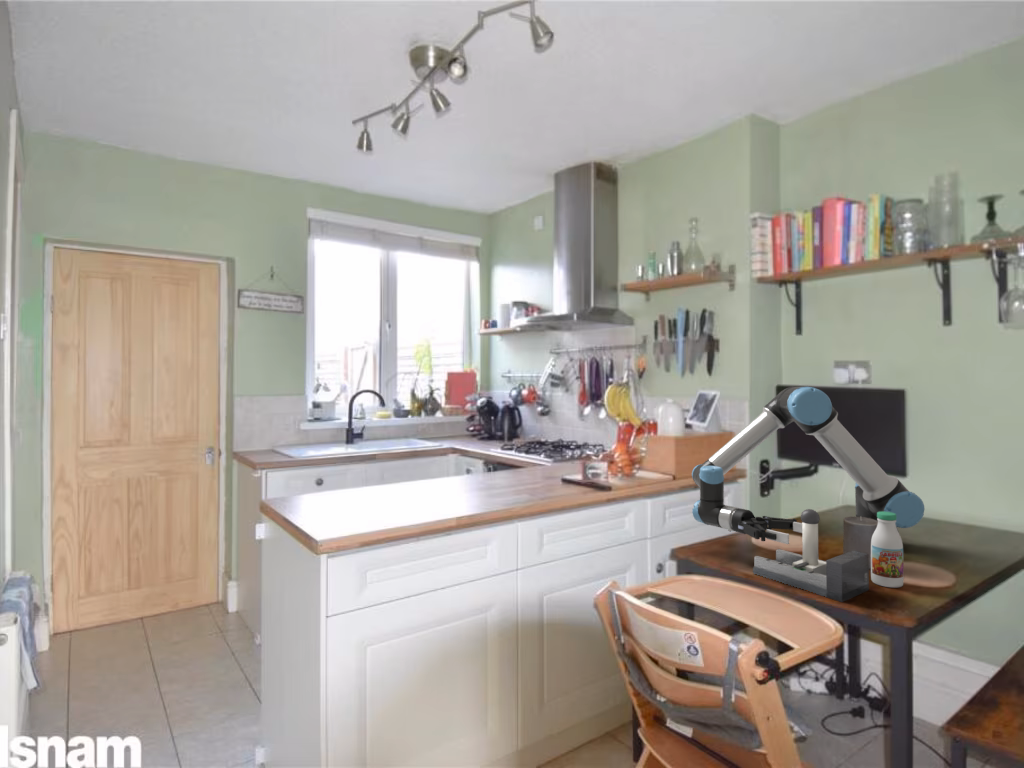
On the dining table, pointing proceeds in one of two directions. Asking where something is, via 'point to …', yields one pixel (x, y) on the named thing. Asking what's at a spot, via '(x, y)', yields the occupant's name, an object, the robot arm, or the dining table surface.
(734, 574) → the dining table surface
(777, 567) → the base
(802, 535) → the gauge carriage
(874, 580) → the milk bottle
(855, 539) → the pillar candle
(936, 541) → the dining table surface
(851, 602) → the dining table surface
